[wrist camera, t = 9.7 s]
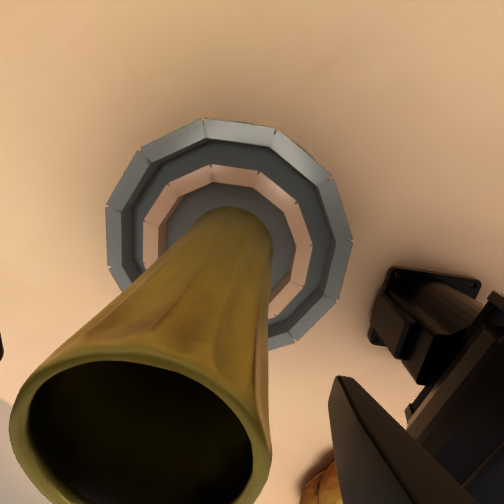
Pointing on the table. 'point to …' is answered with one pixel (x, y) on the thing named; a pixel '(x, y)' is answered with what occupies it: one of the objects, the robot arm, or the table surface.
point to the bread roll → (323, 488)
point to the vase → (162, 382)
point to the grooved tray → (241, 196)
